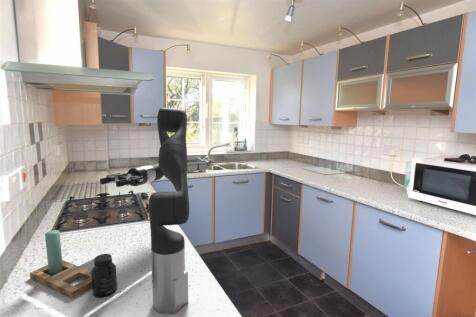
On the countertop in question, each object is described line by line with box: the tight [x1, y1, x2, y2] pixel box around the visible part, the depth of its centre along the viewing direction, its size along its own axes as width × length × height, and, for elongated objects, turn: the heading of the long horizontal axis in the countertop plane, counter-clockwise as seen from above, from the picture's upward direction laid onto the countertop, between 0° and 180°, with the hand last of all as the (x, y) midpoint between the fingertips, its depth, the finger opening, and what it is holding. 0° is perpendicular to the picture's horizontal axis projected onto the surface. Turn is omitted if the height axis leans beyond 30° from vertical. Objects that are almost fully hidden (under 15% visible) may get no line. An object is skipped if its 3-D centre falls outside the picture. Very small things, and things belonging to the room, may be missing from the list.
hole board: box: [29, 259, 92, 300], centre depth 92 cm, size 22×10×3 cm, turn 63°
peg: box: [44, 229, 63, 276], centre depth 93 cm, size 4×4×16 cm
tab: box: [78, 258, 94, 271], centre depth 101 cm, size 9×9×1 cm
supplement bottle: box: [91, 253, 118, 299], centre depth 86 cm, size 7×7×12 cm
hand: (108, 182), depth 104 cm, fingers open, 8 cm apart
